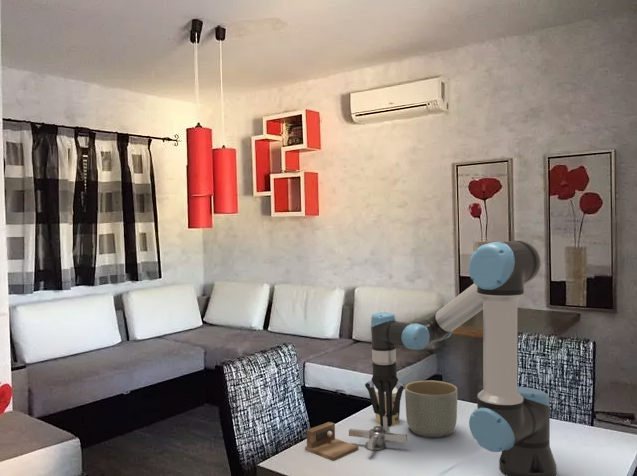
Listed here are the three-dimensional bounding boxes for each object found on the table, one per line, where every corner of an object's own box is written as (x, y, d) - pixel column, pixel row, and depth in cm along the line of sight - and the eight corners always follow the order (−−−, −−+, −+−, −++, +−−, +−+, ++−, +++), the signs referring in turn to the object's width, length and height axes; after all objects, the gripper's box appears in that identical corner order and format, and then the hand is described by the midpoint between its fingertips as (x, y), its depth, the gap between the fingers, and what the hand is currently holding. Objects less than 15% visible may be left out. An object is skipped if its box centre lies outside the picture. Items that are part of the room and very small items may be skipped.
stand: (398, 450, 181) (398, 427, 180) (352, 471, 166) (352, 447, 166) (351, 434, 195) (350, 413, 194) (305, 453, 180) (304, 430, 180)
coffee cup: (400, 429, 198) (399, 394, 197) (372, 428, 200) (372, 393, 199) (402, 420, 207) (401, 386, 207) (375, 418, 209) (375, 385, 208)
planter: (403, 441, 188) (402, 393, 187) (408, 422, 204) (407, 379, 204) (457, 445, 184) (457, 396, 183) (458, 426, 200) (457, 381, 200)
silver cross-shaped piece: (412, 439, 186) (412, 420, 186) (400, 462, 169) (400, 441, 169) (357, 433, 192) (357, 414, 192) (340, 455, 175) (340, 434, 175)
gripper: (407, 360, 186) (409, 434, 187) (369, 358, 191) (371, 429, 192) (400, 366, 179) (402, 442, 180) (361, 363, 185) (363, 437, 185)
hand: (386, 435), depth 186 cm, fingers closed
